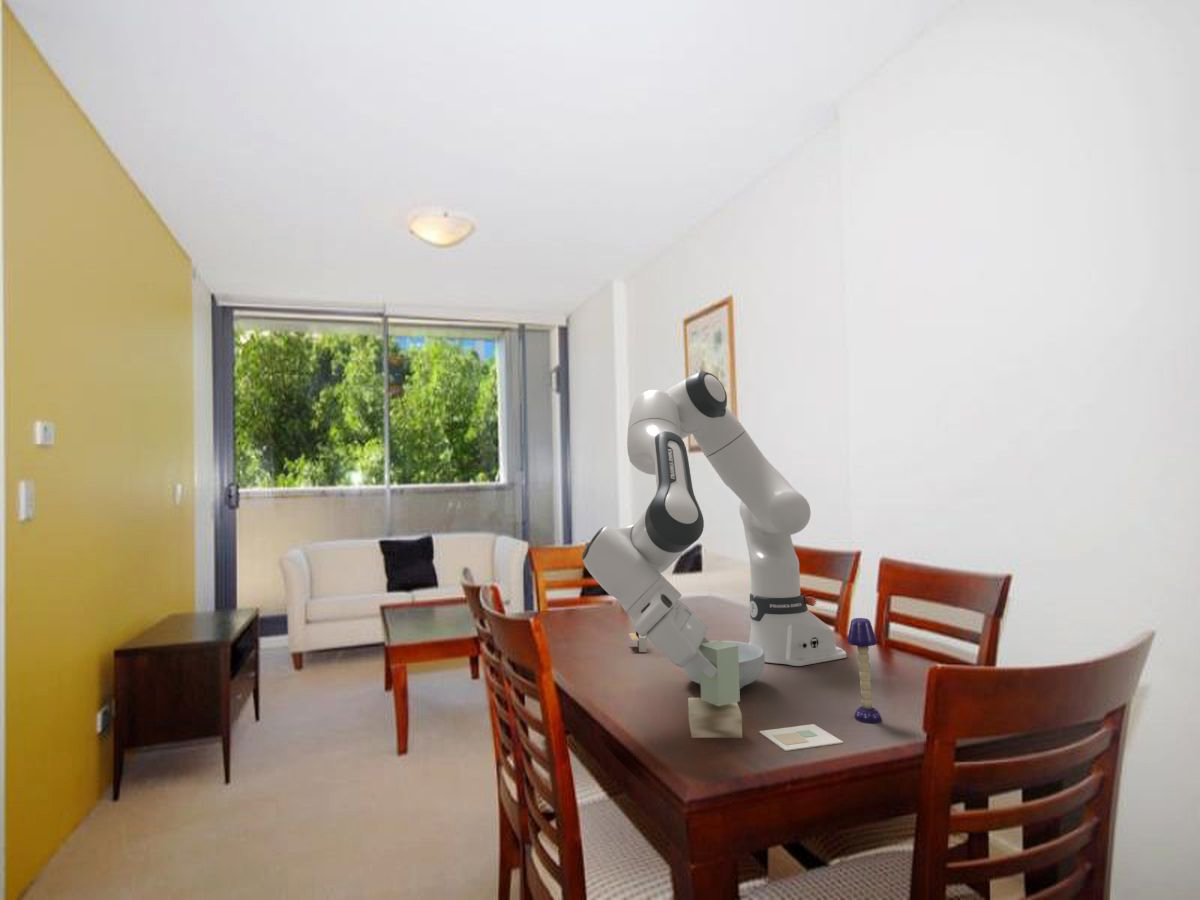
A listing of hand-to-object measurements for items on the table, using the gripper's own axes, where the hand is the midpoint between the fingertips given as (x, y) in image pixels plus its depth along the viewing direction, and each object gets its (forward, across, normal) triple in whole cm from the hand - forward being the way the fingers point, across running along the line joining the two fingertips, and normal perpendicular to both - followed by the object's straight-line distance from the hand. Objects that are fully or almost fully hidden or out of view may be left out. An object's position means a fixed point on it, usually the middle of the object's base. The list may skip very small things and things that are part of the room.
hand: (716, 667), depth 111 cm
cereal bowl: (+6, -24, -8) cm, 26 cm away
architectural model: (-9, -49, -24) cm, 55 cm away
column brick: (+4, 0, -3) cm, 5 cm away
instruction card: (+16, +2, +2) cm, 16 cm away
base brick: (+7, 0, -8) cm, 10 cm away
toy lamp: (+24, -10, +10) cm, 28 cm away
